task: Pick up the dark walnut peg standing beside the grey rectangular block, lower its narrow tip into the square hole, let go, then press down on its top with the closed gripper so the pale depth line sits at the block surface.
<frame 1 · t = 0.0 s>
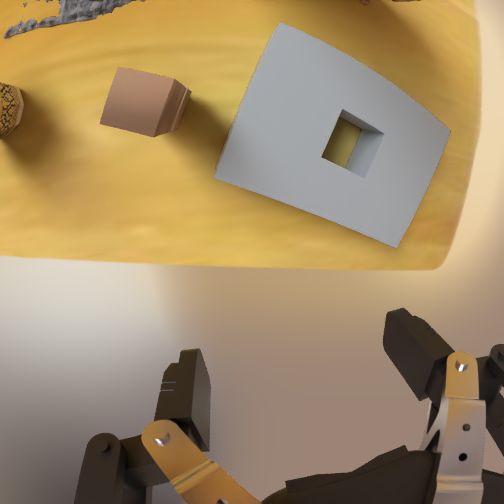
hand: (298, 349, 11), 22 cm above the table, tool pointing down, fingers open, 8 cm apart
grey rectangular block: (335, 138, 29), on the table
walnut peg: (168, 105, 25), on the table
driftwood: (73, 2, 17), on the table
ceramic cup: (1, 108, 21), on the table
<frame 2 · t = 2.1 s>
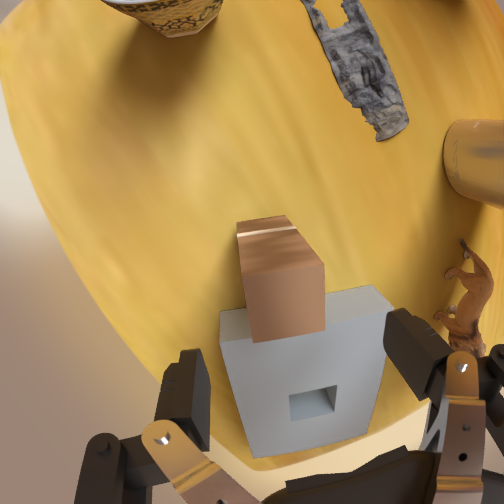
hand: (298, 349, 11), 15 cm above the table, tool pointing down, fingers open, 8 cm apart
lion figurine: (451, 292, 30), on the table
grey rectangular block: (303, 374, 32), on the table
walnut peg: (261, 236, 25), on the table
driftwood: (349, 41, 20), on the table
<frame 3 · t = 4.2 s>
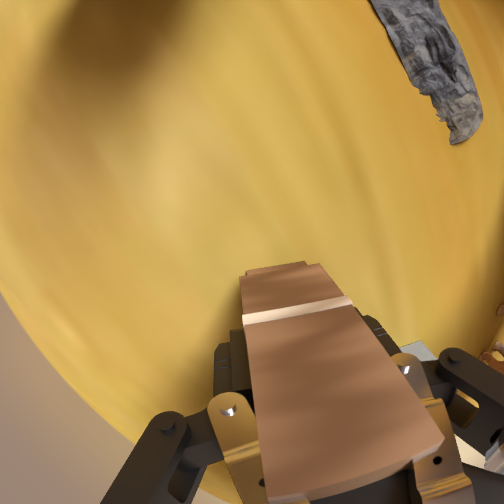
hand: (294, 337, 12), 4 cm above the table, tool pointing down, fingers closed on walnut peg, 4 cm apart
lion figurine: (498, 328, 21), on the table
grey rectangular block: (323, 441, 22), on the table
walnut peg: (278, 291, 16), on the table, touching gripper
driftwood: (401, 3, 11), on the table
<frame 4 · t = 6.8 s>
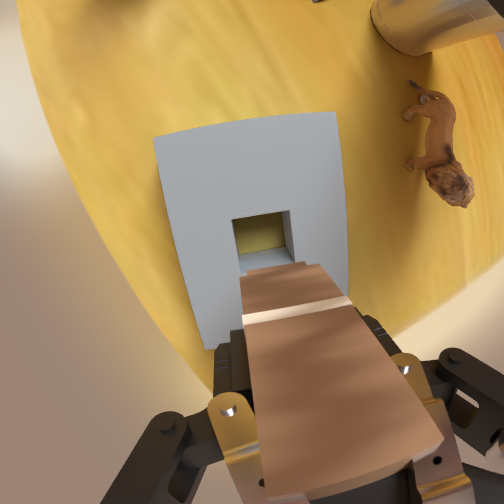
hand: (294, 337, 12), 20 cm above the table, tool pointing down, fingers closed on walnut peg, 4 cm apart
lion figurine: (418, 141, 28), on the table
grey rectangular block: (258, 227, 30), on the table
walnut peg: (278, 291, 16), point 15 cm above the table, touching gripper
when the fingers open (7 cm above the table, at t = 9.4 s): walnut peg drops 2 cm, resting in grey rectangular block.
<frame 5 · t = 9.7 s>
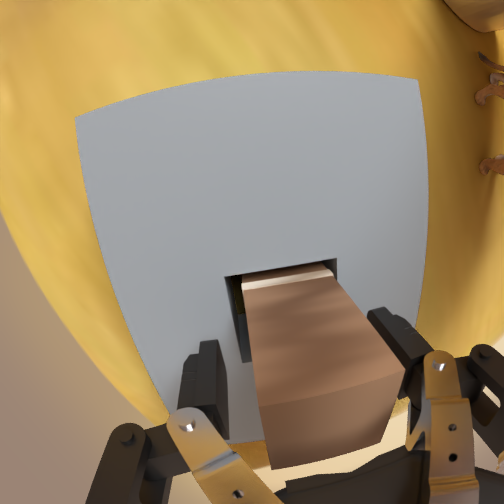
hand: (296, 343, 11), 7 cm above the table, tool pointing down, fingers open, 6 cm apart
lion figurine: (490, 135, 16), on the table
grey rectangular block: (271, 274, 18), on the table
walnut peg: (273, 273, 18), resting in grey rectangular block
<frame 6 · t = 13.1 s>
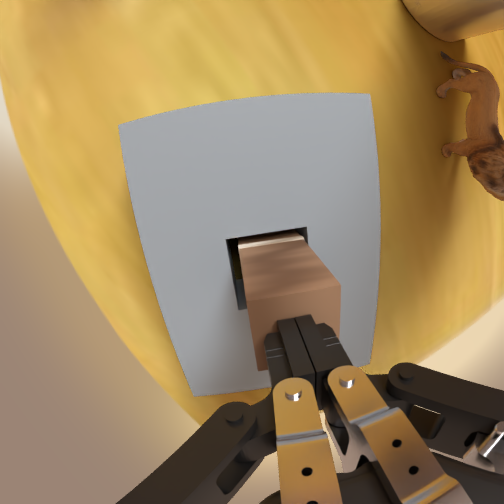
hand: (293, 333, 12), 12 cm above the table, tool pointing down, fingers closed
lion figurine: (453, 123, 21), on the table
grey rectangular block: (262, 246, 23), on the table
walnut peg: (264, 245, 23), resting in grey rectangular block, touching gripper
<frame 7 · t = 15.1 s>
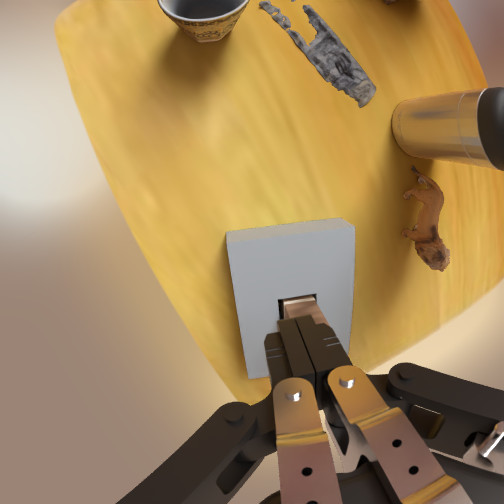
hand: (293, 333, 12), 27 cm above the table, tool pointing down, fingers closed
lion figurine: (413, 213, 40), on the table
grey rectangular block: (290, 295, 42), on the table
walnut peg: (291, 295, 42), resting in grey rectangular block
driftwood: (321, 46, 31), on the table
ceramic cup: (208, 15, 27), on the table
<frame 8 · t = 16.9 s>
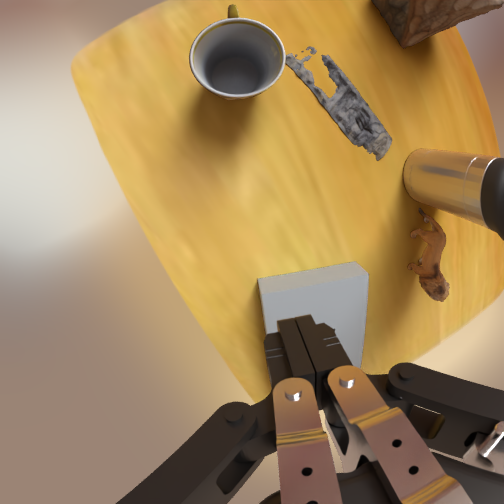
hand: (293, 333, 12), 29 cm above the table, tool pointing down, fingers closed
lion figurine: (418, 248, 44), on the table
grey rectangular block: (311, 327, 47), on the table
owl: (400, 19, 30), on the table
driftwood: (342, 100, 36), on the table
ceramic cup: (233, 69, 33), on the table
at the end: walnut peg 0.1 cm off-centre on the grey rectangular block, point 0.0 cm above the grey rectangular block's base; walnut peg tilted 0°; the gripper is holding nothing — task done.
